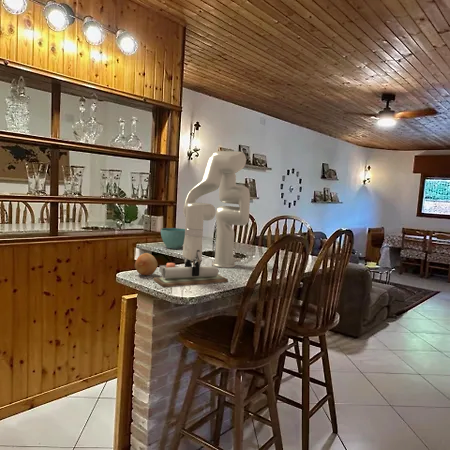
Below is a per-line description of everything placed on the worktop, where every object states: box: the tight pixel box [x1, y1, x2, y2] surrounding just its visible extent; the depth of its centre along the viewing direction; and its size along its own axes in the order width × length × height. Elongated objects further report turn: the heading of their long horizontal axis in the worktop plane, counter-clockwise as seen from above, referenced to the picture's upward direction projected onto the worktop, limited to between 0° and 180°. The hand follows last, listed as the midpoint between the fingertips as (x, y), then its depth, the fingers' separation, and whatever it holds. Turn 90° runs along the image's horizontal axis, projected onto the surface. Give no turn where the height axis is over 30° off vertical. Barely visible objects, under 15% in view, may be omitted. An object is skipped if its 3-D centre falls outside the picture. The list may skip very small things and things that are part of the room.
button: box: [166, 262, 176, 268], centre depth 178 cm, size 4×4×3 cm
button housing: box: [159, 264, 179, 273], centre depth 178 cm, size 8×8×2 cm
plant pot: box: [160, 227, 185, 250], centre depth 248 cm, size 18×18×12 cm
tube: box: [161, 265, 220, 280], centre depth 163 cm, size 5×5×25 cm
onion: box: [134, 252, 158, 276], centre depth 168 cm, size 10×10×10 cm
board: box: [153, 274, 229, 288], centre depth 163 cm, size 30×11×1 cm, turn 121°
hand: (191, 273), depth 163 cm, fingers open, 6 cm apart
